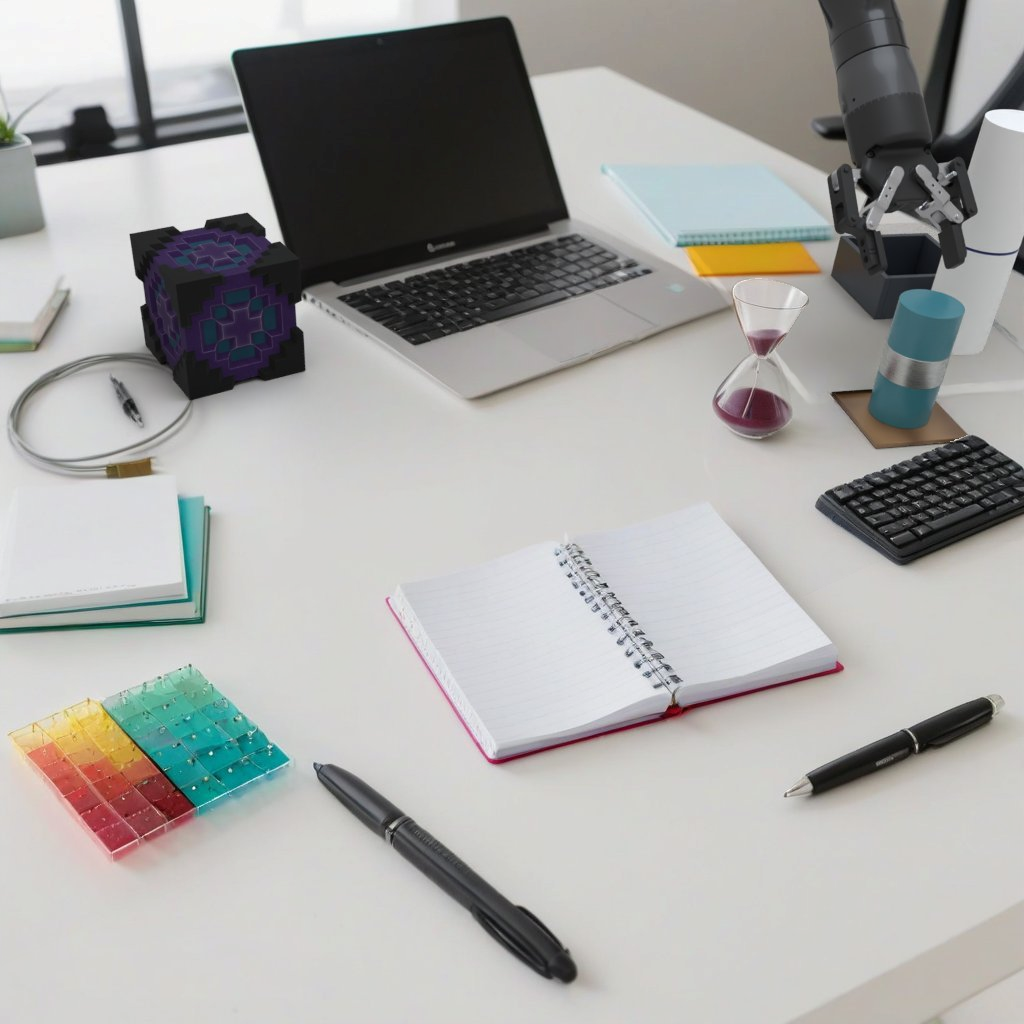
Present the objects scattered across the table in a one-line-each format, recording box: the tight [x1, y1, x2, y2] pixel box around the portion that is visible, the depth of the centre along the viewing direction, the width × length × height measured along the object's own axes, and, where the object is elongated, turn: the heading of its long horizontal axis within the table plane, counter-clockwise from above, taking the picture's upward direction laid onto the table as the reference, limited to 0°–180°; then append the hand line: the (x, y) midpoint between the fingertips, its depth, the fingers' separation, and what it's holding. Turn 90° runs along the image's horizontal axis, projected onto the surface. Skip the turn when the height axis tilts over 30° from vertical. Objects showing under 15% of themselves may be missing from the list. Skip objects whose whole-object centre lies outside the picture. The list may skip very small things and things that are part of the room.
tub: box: [830, 232, 942, 321], centre depth 134 cm, size 11×11×6 cm
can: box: [868, 289, 965, 429], centre depth 111 cm, size 6×6×12 cm
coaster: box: [830, 388, 969, 449], centre depth 115 cm, size 10×10×1 cm
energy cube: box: [129, 212, 306, 401], centre depth 112 cm, size 12×12×12 cm
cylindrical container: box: [931, 108, 1024, 356], centre depth 120 cm, size 7×7×25 cm
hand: (917, 269), depth 109 cm, fingers open, 8 cm apart
